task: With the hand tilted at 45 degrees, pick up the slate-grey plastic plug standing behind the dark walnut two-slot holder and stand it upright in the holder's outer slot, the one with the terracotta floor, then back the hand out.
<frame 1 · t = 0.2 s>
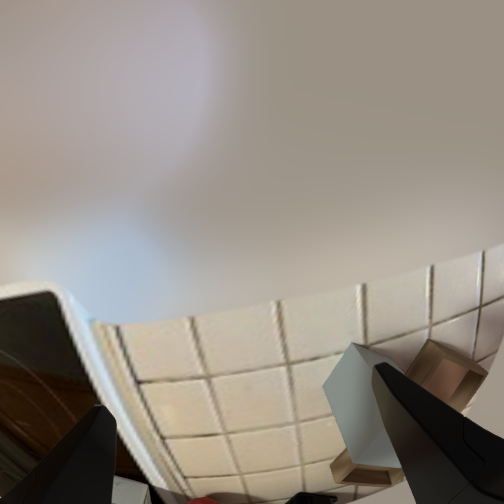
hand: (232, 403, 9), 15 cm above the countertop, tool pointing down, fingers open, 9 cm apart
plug: (357, 372, 26), on the countertop
onion: (206, 496, 29), on the countertop
slot holder: (406, 418, 27), on the countertop
syrup box: (131, 488, 29), on the countertop
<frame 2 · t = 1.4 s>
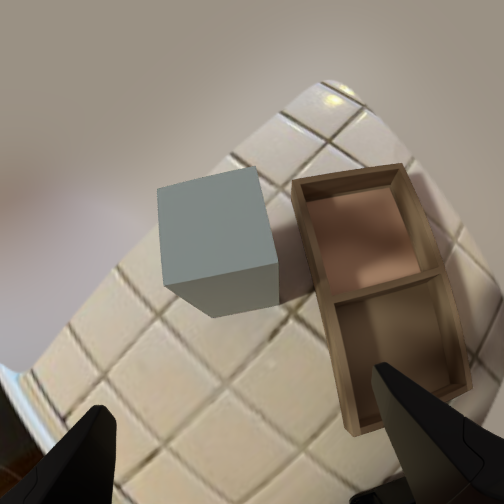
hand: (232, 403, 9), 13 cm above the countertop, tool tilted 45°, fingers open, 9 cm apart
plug: (239, 279, 23), on the countertop
slot holder: (378, 294, 22), on the countertop
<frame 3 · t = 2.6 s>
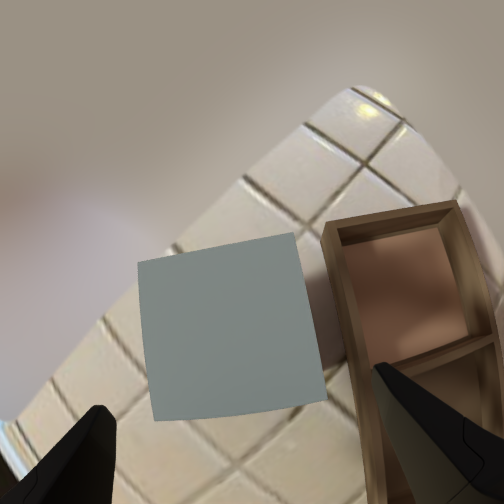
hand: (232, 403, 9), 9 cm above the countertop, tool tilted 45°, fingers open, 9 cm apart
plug: (254, 346, 18), on the countertop
slot holder: (419, 361, 16), on the countertop
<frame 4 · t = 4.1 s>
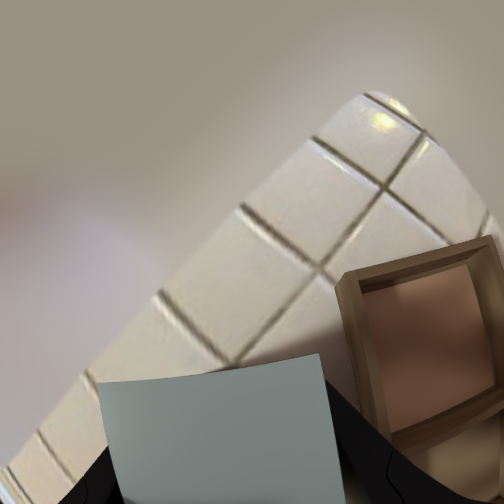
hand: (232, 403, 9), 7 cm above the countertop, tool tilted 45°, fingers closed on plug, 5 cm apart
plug: (257, 411, 14), on the countertop, touching gripper
slot holder: (441, 417, 13), on the countertop
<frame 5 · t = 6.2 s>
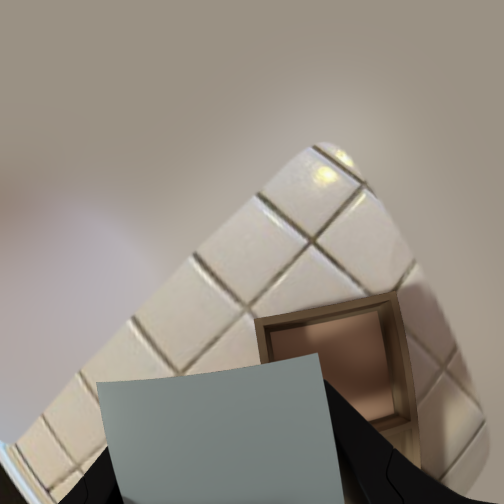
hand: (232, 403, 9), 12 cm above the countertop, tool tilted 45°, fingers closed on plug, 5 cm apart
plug: (257, 411, 14), point 6 cm above the countertop, touching gripper
slot holder: (342, 432, 18), on the countertop
when the fingers open (8 cm above the countertop, at t = 8.2 s): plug stays where it is, resting on slot holder.
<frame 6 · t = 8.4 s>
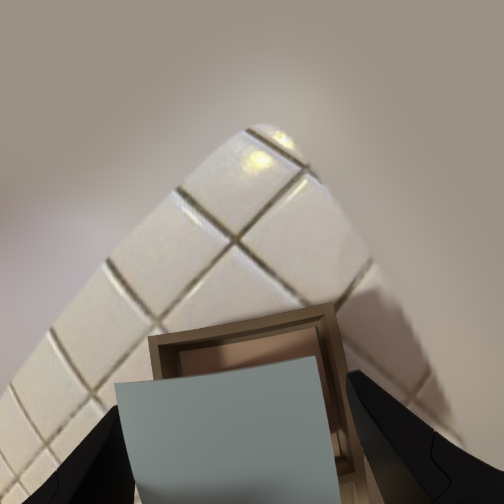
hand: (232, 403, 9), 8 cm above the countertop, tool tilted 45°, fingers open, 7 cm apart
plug: (258, 409, 15), point 1 cm above the countertop, touching slot holder
slot holder: (273, 474, 14), on the countertop
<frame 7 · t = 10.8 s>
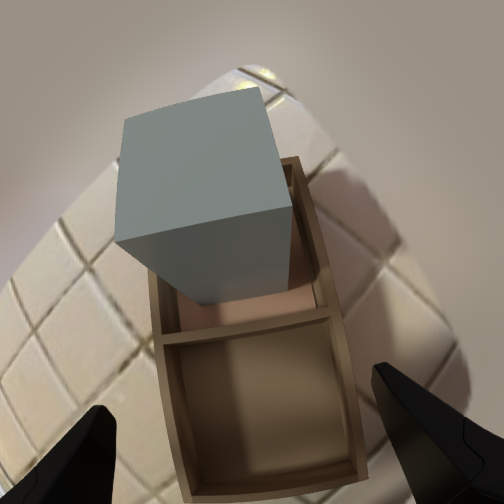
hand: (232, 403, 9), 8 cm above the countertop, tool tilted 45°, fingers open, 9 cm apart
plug: (237, 258, 18), point 1 cm above the countertop, touching slot holder
slot holder: (250, 333, 17), on the countertop
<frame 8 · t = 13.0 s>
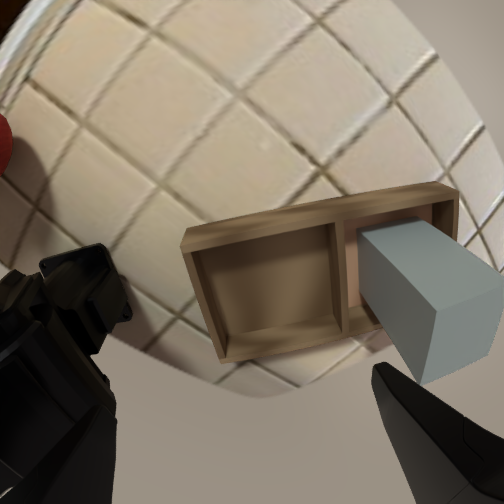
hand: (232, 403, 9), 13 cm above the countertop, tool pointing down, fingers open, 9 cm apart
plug: (388, 253, 21), point 1 cm above the countertop, touching slot holder
onion: (8, 142, 16), on the countertop
slot holder: (330, 262, 21), on the countertop
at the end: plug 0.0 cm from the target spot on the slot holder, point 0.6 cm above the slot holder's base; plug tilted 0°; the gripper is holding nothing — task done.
